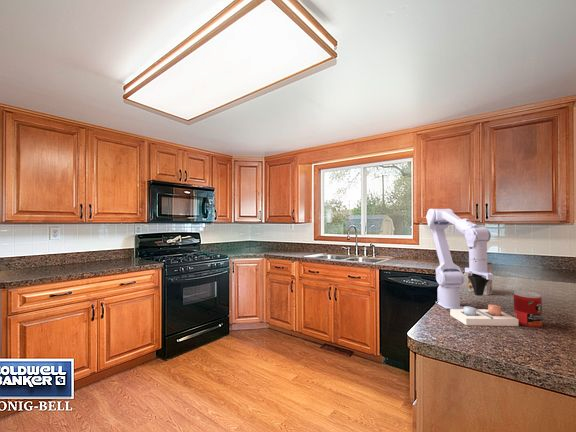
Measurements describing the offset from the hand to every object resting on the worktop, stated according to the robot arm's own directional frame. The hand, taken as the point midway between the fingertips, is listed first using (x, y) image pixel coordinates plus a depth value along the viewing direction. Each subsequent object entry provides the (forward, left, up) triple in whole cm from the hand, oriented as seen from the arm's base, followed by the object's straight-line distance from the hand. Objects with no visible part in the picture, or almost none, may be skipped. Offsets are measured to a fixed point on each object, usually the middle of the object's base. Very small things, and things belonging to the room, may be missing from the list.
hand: (478, 295), depth 106 cm
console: (0, +1, -9) cm, 9 cm away
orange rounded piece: (0, +6, -8) cm, 9 cm away
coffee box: (-42, +26, -10) cm, 50 cm away
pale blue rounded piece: (0, -3, -8) cm, 9 cm away
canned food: (+3, +15, -10) cm, 18 cm away
